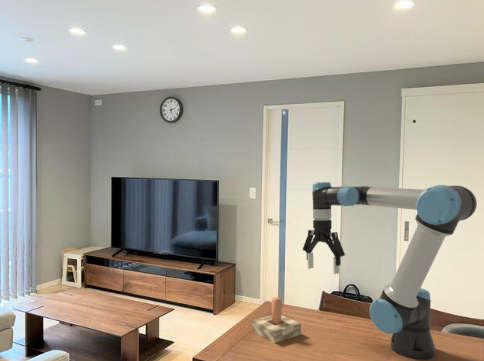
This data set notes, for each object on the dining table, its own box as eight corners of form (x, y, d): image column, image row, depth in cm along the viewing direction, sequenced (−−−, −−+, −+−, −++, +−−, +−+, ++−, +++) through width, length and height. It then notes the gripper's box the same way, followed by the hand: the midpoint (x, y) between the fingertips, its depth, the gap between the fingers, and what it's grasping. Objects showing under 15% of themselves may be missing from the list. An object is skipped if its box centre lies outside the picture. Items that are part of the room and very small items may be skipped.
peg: (283, 333, 155) (283, 299, 155) (275, 335, 152) (276, 300, 152) (276, 330, 158) (277, 296, 158) (269, 332, 156) (269, 298, 156)
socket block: (300, 334, 154) (300, 323, 154) (274, 343, 146) (274, 331, 145) (278, 323, 165) (278, 313, 165) (252, 331, 157) (252, 320, 157)
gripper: (353, 220, 150) (354, 274, 150) (305, 217, 170) (306, 265, 170) (341, 221, 146) (342, 277, 145) (294, 218, 165) (294, 267, 165)
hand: (323, 270), depth 157 cm, fingers open, 13 cm apart
